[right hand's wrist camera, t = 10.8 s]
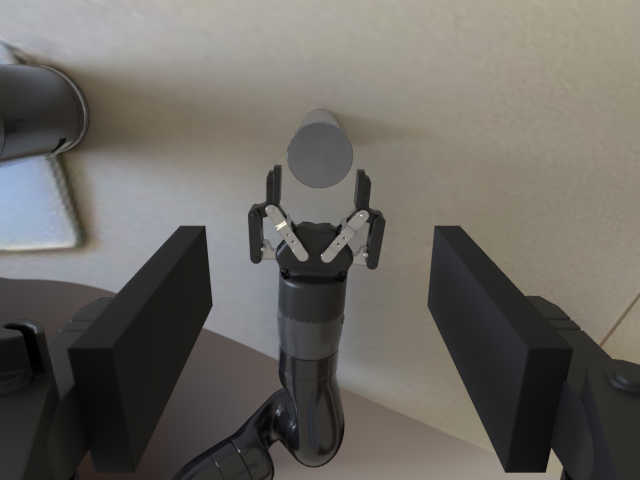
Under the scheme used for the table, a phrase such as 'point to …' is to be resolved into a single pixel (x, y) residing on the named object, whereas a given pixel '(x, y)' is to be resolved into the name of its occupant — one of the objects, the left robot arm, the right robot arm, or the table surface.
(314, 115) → the grey capped cylinder
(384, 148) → the table surface
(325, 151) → the lid
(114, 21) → the table surface
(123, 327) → the right robot arm
